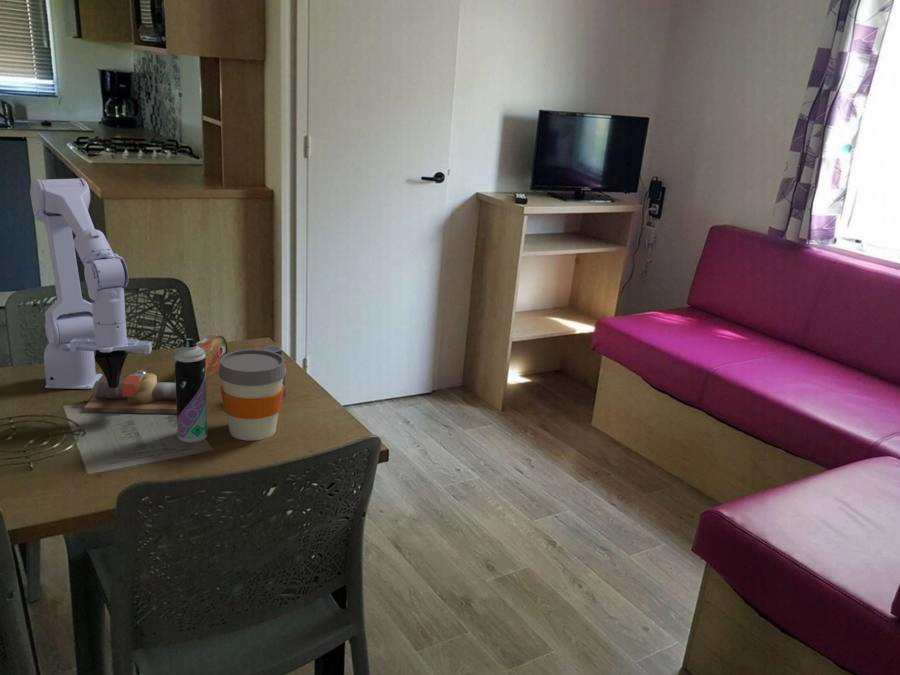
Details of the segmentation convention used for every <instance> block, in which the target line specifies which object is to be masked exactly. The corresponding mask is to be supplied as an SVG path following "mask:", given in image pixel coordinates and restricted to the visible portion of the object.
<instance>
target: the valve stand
mask: <svg viewBox="0 0 900 675" xmlns="http://www.w3.org/2000/svg"><path fill="white" fill-rule="evenodd" d="M135 374H136V373H132V374H130V375H127V376H126V377H125V379H126V378H127V377H128V376H135ZM157 378H158V377H157V375H156V374H154V373H151V372H146V378H144V379H142V380H141V382H140V389H139V391H138V392H137V394H136V395H135V397H125V396H123V393H122V383H123V382H124V381H125V380H124V381H123V380H122V381H119V385H118V387H117V388H109V385H108V382H107V380H98V381H96V382H95V385H94V387H93V396H91V398H90V399H89V401H88V402H87V403H86V404H85V406H84V408H83V409H84V413H114V414H115V413H121V414H122V413H123V414H124V413H125V414H126V413H127V414H130V413H131V414H173V415H174V414H176V415H177V406H176V382H166V381H165V382H162V381H161V382H160V381H159V382H158V379H157Z"/></svg>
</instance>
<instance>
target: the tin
mask: <svg viewBox="0 0 900 675" xmlns="http://www.w3.org/2000/svg"><path fill="white" fill-rule="evenodd" d="M195 343H196V344H197V345H198V347H200V348H203V349H204V350H205V359H206V380H207V379H209V378H210V377H211V376H213V375H214V374H216V373H218V372H219V367H220V360H221V358H222V357H223V356H224V355H226V354H228V353H229V350H228V348H229V347H228V342H227V340H226V338H225V337H224V336H223V335H216V334H215V335H214V334H213V335H212V334H211V335H208V336H206V337H204V338H203V339H201V340H198V342H195Z"/></svg>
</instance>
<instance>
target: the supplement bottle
mask: <svg viewBox="0 0 900 675" xmlns="http://www.w3.org/2000/svg"><path fill="white" fill-rule="evenodd" d="M262 350H267V351H272V352H275V353H277V354H280V355H281V356H282V357H283V358H284V363H285V372H286V373H285V376H284V377H283V383H282V384H283V385H284V391H283V398H284V397H285V396H286V384H287V383H286V380H287V379H286V376H287V375H286V374H287V371H286V370H287V364H286V363H287V360H286V358H285V356H283V355H282V347H281V346H279V345H278V346H277V345H267V346H264V347H263V348H262Z"/></svg>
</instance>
